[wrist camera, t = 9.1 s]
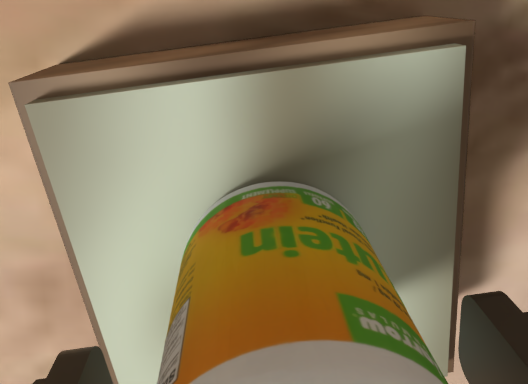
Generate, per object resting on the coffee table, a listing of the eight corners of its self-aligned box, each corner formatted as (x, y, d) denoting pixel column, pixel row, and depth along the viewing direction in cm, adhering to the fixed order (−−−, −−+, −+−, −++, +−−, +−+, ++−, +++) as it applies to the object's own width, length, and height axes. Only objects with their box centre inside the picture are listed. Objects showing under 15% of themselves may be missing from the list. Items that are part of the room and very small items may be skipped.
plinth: (423, 15, 15) (487, 21, 11) (418, 311, 19) (460, 384, 16) (56, 64, 15) (-4, 87, 11) (141, 350, 19) (120, 433, 16)
